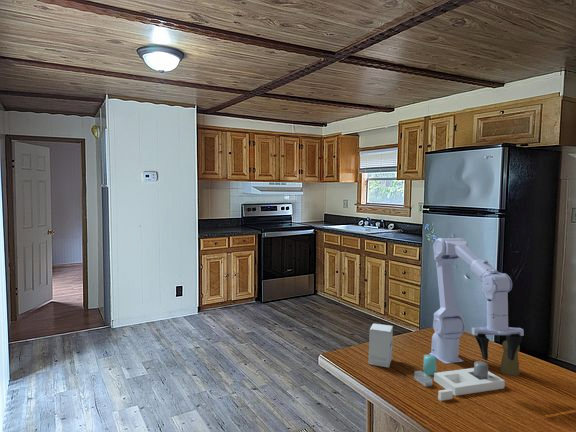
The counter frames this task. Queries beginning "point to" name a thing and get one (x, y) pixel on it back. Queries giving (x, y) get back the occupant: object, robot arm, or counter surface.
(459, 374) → the housing
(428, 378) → the bar
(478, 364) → the grey rounded block
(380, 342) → the supplement box
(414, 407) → the counter surface
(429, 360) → the teal rounded block
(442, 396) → the block
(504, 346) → the cork
